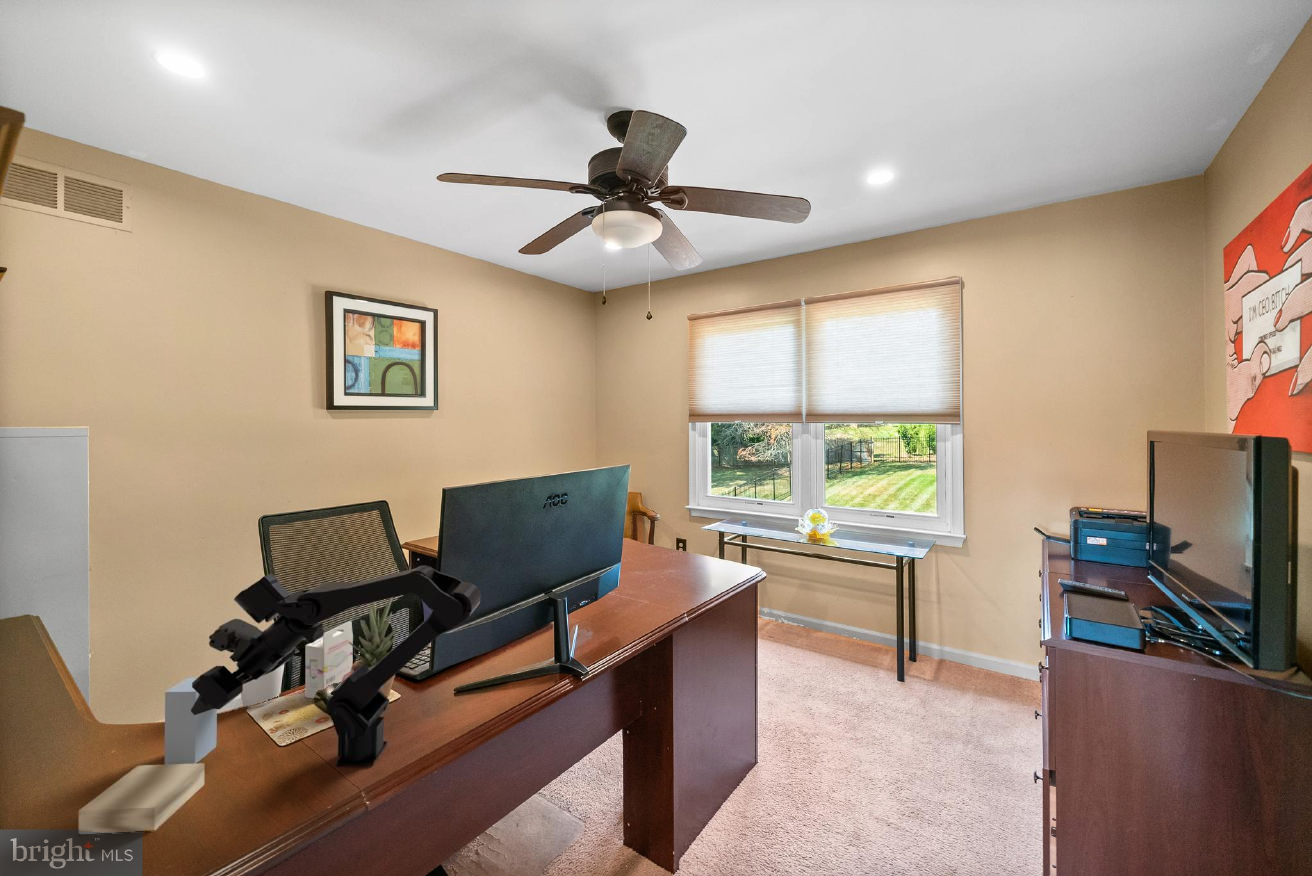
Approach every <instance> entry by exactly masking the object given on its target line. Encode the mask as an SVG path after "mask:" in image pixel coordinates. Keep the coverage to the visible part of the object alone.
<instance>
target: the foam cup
mask: <svg viewBox="0 0 1312 876" xmlns="http://www.w3.org/2000/svg"><path fill="white" fill-rule="evenodd" d="M281 661H282V660H281ZM237 663H238V662H237V661H236V662H235V666H236V670H238V669H239V668H238V666H237ZM284 668H285V663H284V664H283V665H282V666H280V667H279V668H277V669H276V670H274V671H272V672H270V673H268V674H266V675H263V676H261V677H260V678H258V679H257V680H255V679H254V680H252V681H250V682H248V683H245V684H243V691H242V692H241V693H240V697H241V702H242V706H243V707H245V708H247V707H246V706H250V705H254V704H257V703H261V704H259V705H255V706H251V707H250V708H259V707H261V706H266V705H268V704H271V703H273V702H275V701H277V699H273V700H271V701H268V699H272V698H274V697H277V696H278V697H280V693H281V688H282V687H281V686H282V680H283V676H284V670H285V669H284ZM264 701H266V703H262V702H264ZM270 702H271V703H270Z"/></svg>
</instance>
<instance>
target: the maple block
mask: <svg viewBox="0 0 1312 876" xmlns="http://www.w3.org/2000/svg"><path fill="white" fill-rule="evenodd" d="M204 785H205V762H204V763H203V762H200V763H198V762H197V763H196V764H168V765H165V764H144V765H143V764H141V765H136V766H135V767H134V768H133V769H131V770H130V771H129V772H128V773H126V774H125V775H123V776H122V777H121V778H119V779H118V780H117V781H116V782H114V783H113V784H112V785H111V786H109V787H108V788H106V789H105V790H104V791H103V792H101V793H100V794H99V795H97V796H96V797H94V799H92V800H90V801H89V802H88V803H87V804H86V805H84V806H83V807H81V808H80V809H79V810H78V832H79V831H89V832H90V831H92V832H100V833H101V832H102V833H104V832H105V833H106V832H122V831H142V830H155V831H156V830H158V829H159V828H160V827H161V826H162V825H163V824H165V822H167V820H168V819H170V817H171V816H172V815H174V813H176V812H177V811H178V810H179V809H180V808H181V807H182V806H183V805H185V803H186V802H187V801H188V800H190V799H191V798H192V797H193V796H194V795H195V794H196V793H197V792H198V791H199V790H201V788H203V786H204ZM159 826H160V827H159Z"/></svg>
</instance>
